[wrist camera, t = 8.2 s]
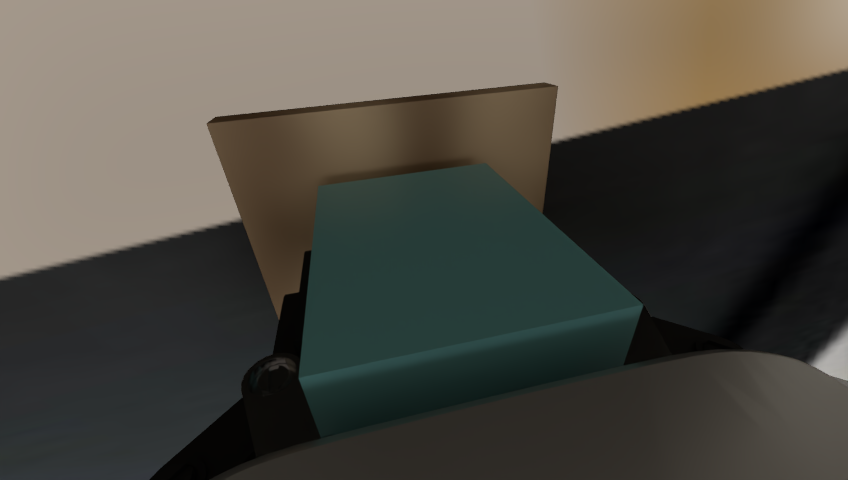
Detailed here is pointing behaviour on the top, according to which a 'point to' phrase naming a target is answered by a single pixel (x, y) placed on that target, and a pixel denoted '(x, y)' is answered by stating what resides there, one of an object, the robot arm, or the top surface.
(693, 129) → the top surface
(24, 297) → the top surface
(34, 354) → the top surface
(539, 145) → the post board
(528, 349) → the teal rectangular block
